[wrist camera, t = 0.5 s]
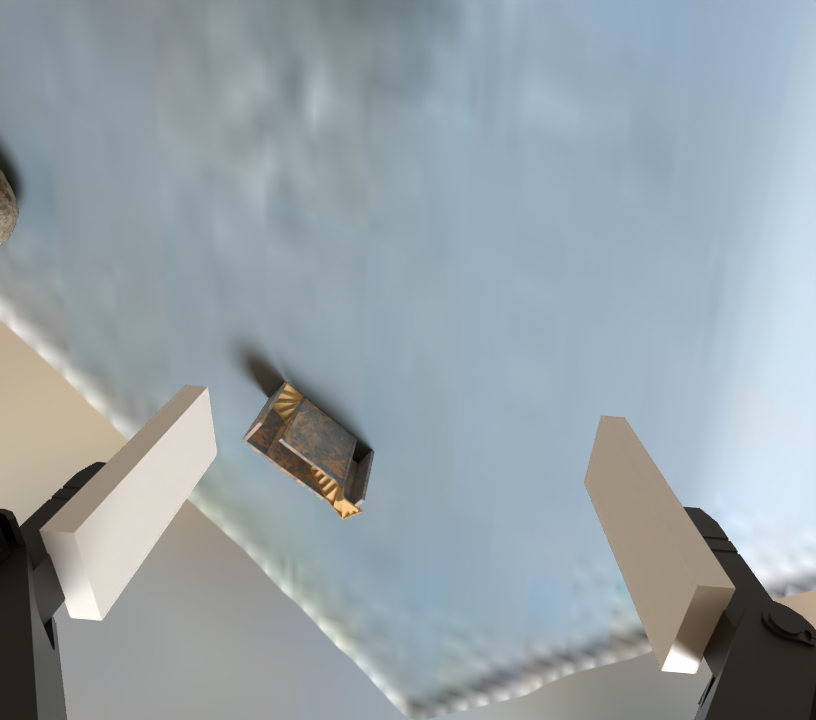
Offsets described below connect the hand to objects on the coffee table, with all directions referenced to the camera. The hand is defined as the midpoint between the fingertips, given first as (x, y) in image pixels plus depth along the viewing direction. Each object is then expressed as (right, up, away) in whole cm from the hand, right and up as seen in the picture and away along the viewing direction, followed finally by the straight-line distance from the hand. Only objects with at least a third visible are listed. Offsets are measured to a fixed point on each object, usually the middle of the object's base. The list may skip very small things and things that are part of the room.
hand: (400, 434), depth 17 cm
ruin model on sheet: (-8, -4, +32) cm, 33 cm away
